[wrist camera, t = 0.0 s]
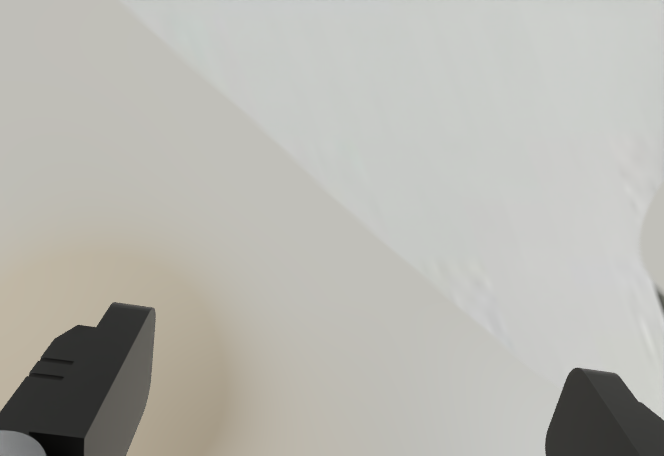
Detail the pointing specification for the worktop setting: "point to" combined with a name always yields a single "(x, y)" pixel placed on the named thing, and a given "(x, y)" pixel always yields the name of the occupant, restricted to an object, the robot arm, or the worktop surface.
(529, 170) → the worktop surface
